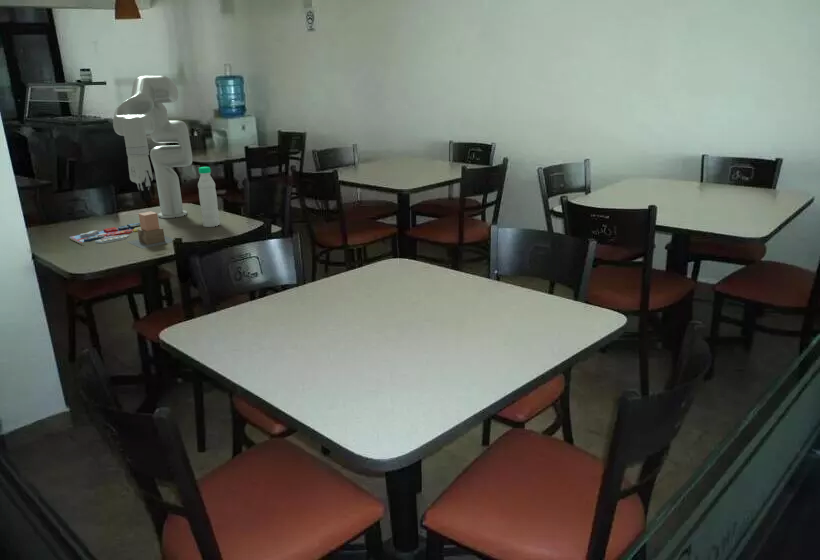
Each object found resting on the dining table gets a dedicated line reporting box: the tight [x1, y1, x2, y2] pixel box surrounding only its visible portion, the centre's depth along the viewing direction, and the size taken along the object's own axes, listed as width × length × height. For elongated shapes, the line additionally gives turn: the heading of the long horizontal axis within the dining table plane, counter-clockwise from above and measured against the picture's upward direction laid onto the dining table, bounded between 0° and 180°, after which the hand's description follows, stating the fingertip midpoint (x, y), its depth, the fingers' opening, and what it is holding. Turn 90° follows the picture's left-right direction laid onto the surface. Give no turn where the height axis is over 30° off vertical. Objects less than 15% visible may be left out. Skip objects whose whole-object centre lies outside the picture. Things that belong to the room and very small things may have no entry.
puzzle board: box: [69, 222, 141, 247], centre depth 250 cm, size 30×23×3 cm
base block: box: [137, 226, 165, 245], centre depth 237 cm, size 7×7×5 cm
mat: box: [127, 235, 174, 249], centre depth 238 cm, size 14×14×1 cm
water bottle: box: [197, 166, 221, 228], centre depth 260 cm, size 7×7×25 cm
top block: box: [138, 210, 161, 231], centre depth 235 cm, size 5×5×6 cm
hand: (145, 200), depth 233 cm, fingers closed
